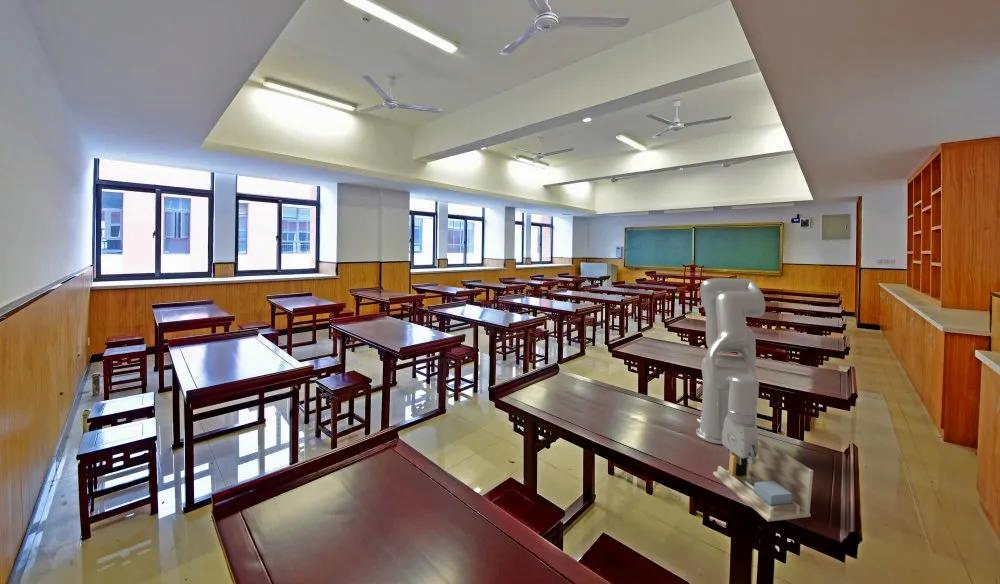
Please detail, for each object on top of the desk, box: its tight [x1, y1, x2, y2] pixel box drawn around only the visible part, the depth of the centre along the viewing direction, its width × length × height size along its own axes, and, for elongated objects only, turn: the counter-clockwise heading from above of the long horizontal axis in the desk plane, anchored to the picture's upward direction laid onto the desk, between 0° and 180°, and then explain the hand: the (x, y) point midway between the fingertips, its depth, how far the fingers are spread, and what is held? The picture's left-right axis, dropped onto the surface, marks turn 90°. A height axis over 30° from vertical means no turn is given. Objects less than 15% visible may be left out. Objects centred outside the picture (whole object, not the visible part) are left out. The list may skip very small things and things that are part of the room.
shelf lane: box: [712, 436, 814, 522], centre depth 118 cm, size 22×13×13 cm, turn 8°
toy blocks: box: [728, 454, 792, 506], centre depth 117 cm, size 17×6×8 cm, turn 8°
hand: (738, 472), depth 125 cm, fingers closed on toy blocks
